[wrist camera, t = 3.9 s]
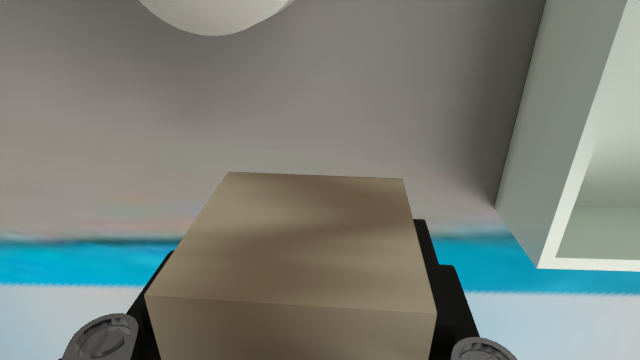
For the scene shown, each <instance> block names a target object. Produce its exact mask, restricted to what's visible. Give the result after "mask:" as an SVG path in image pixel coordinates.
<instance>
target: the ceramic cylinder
mask: <svg viewBox="0 0 640 360" xmlns="http://www.w3.org/2000/svg"><path fill="white" fill-rule="evenodd" d="M139 1H140V2H141V3H142V4H143V5H144V6H145V7H146V8H147V9H148V10H149V11H151V12H152V13H153V14H154V15H156V16H157V17H159V18H160V19H161V20H163V21H165V22H166V23H168V24H170V25H172V26H173V27H176V28H178V29H181V30H183V31H186V32H190V33H193V34H197V35H205V36H222V35H229V34H233V33H237V32H240V31H243V30H245V29H247V28H249V27H251V26H253V25H255V24H257V23H259V22H261V21H263V20H265V19H267V18H269V17H270V16H272V15H274V14H276V13H278V12H280V11H282V10H284V9H285V8H287V7H288V6H290V5H291V4H292V3H293V2H294V1H295V0H139Z"/></svg>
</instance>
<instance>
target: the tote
mask: <svg viewBox="0 0 640 360" xmlns="http://www.w3.org/2000/svg"><path fill="white" fill-rule="evenodd" d="M494 209H495V210H496V212H497V213H498V214H499V216H500V217H501V219H502V220H503V221H504V223H505V224H506V226H507V227H508V228H509V230H510V231H511V233H512V234H513V236H514V237H515V238H516V240H517V241H518V243H519V244H520V245H521V247H522V248H523V250H524V251H525V252H526V254H527V255H528V257H529V258H530V259H531V261H532V262H533V264H534V265H535V266H536V268H540V269H574V270H607V271H640V0H546V2H545V6H544V10H543V14H542V18H541V22H540V26H539V30H538V34H537V38H536V42H535V46H534V50H533V54H532V58H531V62H530V66H529V70H528V74H527V78H526V82H525V86H524V90H523V94H522V98H521V102H520V106H519V110H518V114H517V118H516V122H515V126H514V130H513V134H512V138H511V142H510V146H509V150H508V154H507V158H506V162H505V166H504V170H503V174H502V178H501V182H500V186H499V190H498V194H497V198H496V202H495V206H494Z"/></svg>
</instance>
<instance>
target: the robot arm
mask: <svg viewBox="0 0 640 360" xmlns="http://www.w3.org/2000/svg"><path fill="white" fill-rule="evenodd" d="M413 222H414V226H415V230H416V233H417V237H418V241H419V245H420V249H421V253H422V257H423V260H424V264H425V268H426V272H427V276H428V280H429V284H430V288H431V291H432V295H433V299H434V303H435V307H436V311H437V317H436V322H435V328H434V333H433V338H432V343H431V348H430V353H429V358H428V360H517V359H516V357H515V356H514V355H513V354H512V353H511V352H510V351H508V350H507V349H506V348H505V347H503V346H501V345H500V344H498V343H496V342H493V341H491V340H489V339H486V338H480V336H479V333H478V331H477V328H476V325H475V323H474V320H473V317H472V314H471V311H470V309H469V306H468V303H467V300H466V298H465V295H464V292H463V289H462V286H461V284H460V281H459V278H458V275H457V273H456V270H455V268H454V266H452V265H439V263H438V260H437V257H436V254H435V250H434V247H433V244H432V241H431V238H430V234H429V231H428V228H427V225H426V222H425V220H422V219H413ZM174 251H175V250H173V251H170V253H169V254H168V255H167V256H166V258H165V259H164V260H163V262H162V263H161V265H160V266H159V268H158V269H157V270H156V272H155V273H154V275H153V276H152V277H151V279H150V280H149V282H148V283H147V285H146V286H145V287H144V289H143V290H142V292H141V293H140V295H139V296H138V298H137V299H136V300H135V302H134V303H133V305H132V306H131V307H130V309H129V310H128V312H127V313H126V314H123V313H121V314H120V313H117V314H109V315H105V316H102V317H99V318H97V319H95V320H92V321H91V322H89V323H88V324H86V325H85V326H83V327H82V328H81V329H80V330H79V331H78V332H76V333H75V334H74V336H73V337H72V339H71V340H70V342H69V344H68V346H67V348H66V350H65V352H64V355H63V357H62V358H61V359H59V360H161V357H160V353H159V350H158V346H157V342H156V338H155V335H154V331H153V327H152V324H151V320H150V316H149V312H148V309H147V305H146V301H145V298H144V294H145V293H146V291H147V290H148V288H149V287H150V286H151V284H152V283H153V281H154V280H155V278H156V277H157V275H158V274H159V272H160V271H161V270H162V268H163V267H164V265H165V264H166V262H167V261H168V259H169V258H170V256H171V255H172V254H173V252H174Z"/></svg>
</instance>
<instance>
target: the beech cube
mask: <svg viewBox="0 0 640 360" xmlns="http://www.w3.org/2000/svg"><path fill="white" fill-rule="evenodd" d="M144 298H145V301H146V305H147V309H148V312H149V316H150V320H151V324H152V327H153V331H154V335H155V338H156V342H157V346H158V350H159V353H160V357H161V360H428V358H429V353H430V348H431V343H432V338H433V333H434V328H435V322H436V317H437V311H436V307H435V303H434V299H433V295H432V291H431V288H430V284H429V280H428V276H427V272H426V268H425V264H424V260H423V257H422V253H421V249H420V245H419V241H418V237H417V233H416V230H415V226H414V222H413V218H412V214H411V210H410V206H409V202H408V199H407V195H406V191H405V187H404V183H403V179H399V178H373V177H348V176H322V175H296V174H271V173H245V172H228V173H227V175H226V176H225V178H224V179H223V181H222V182H221V184H220V185H219V186H218V188H217V189H216V191H215V192H214V194H213V195H212V197H211V198H210V200H209V201H208V203H207V204H206V205H205V207H204V208H203V210H202V211H201V213H200V214H199V216H198V217H197V219H196V220H195V221H194V223H193V224H192V226H191V227H190V229H189V230H188V232H187V233H186V235H185V236H184V237H183V239H182V240H181V242H180V243H179V245H178V246H177V248H176V249H175V251H174V252H173V254H172V255H171V256H170V258H169V259H168V261H167V262H166V264H165V265H164V267H163V268H162V270H161V271H160V272H159V274H158V275H157V277H156V278H155V280H154V281H153V283H152V284H151V286H150V287H149V288H148V290H147V291H146V293H145V294H144Z"/></svg>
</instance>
